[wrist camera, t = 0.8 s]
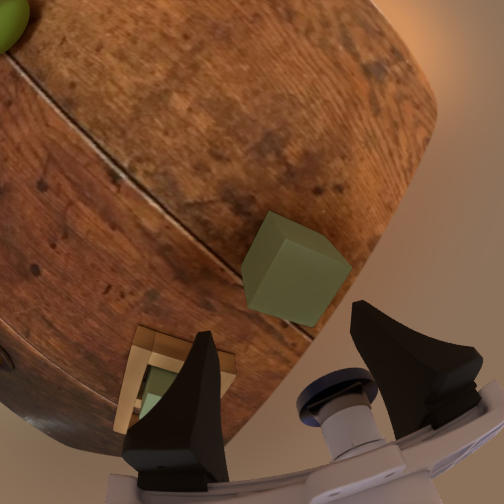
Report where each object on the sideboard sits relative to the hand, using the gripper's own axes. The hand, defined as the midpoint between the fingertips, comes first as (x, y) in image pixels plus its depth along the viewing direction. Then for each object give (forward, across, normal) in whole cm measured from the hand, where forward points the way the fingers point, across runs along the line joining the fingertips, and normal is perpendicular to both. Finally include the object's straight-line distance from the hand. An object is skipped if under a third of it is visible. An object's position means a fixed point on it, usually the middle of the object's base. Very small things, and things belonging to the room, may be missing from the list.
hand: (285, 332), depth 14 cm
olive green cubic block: (+8, -2, -1) cm, 8 cm away
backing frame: (+8, +12, +13) cm, 19 cm away
